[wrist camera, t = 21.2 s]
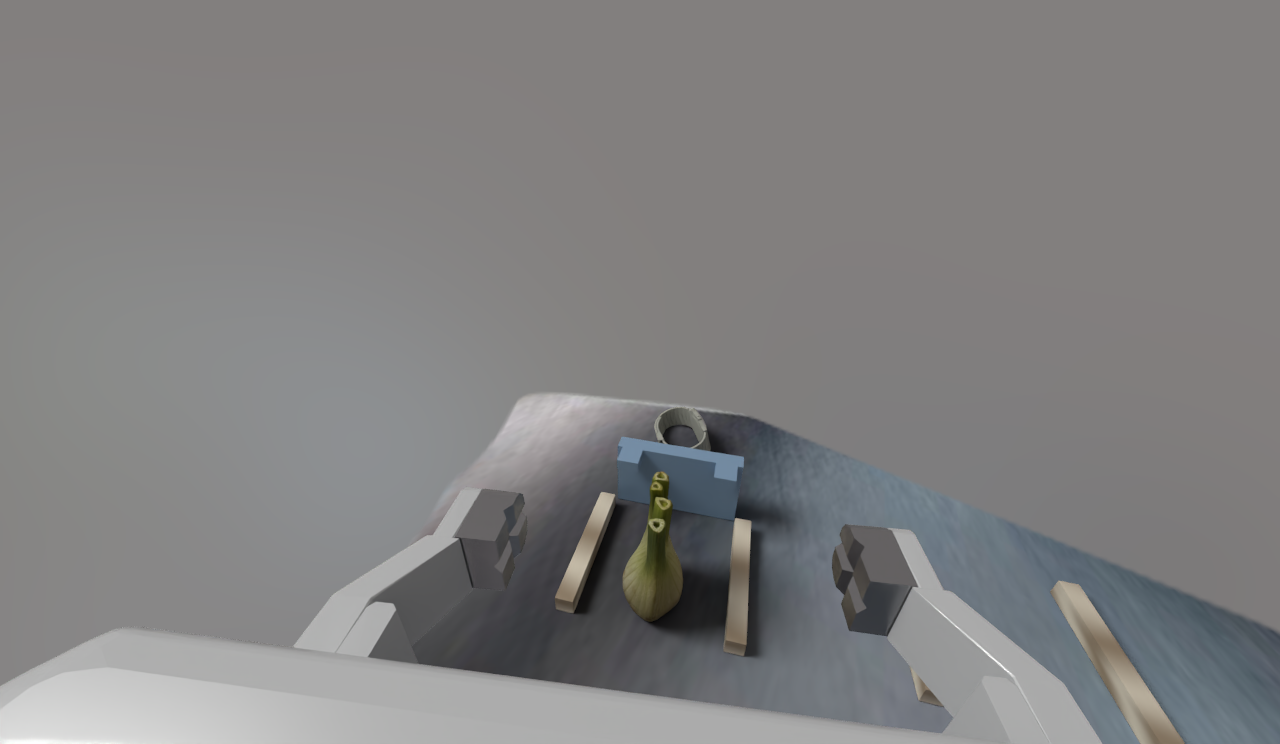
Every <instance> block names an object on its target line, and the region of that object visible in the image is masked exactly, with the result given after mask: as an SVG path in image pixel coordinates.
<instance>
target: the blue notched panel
mask: <svg viewBox="0 0 1280 744" xmlns="http://www.w3.org/2000/svg"><path fill="white" fill-rule="evenodd" d="M743 464H744V457H740V456H734V455H728V454H722V453H716V452H711V451H705V450H699V449H693V448H687V447H681V446H675V445H669V444H663V443H657V442H651V441H645V440H639V439H633V438H627V437H622V438H621V440H620V442H619V445H618V459H617V468H618V498H619V499H624V500H629V501H634V502H639V503H644V504H649V505H650V486H651V484H652V478H653V476H654V474H655V473H657V472H661V471H662V472H665V473H666V474H667V475H668V476H669V492H668V500H671V502H672V504H673V509H675V510H680V511H685V512H690V513H695V514H701V515H706V516H711V517H716V518H721V519H726V520H731V521H734V518H735V512H736V507H737V501H738V495H739V489H740V484H741V478H742V472H743Z"/></svg>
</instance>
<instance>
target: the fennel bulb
mask: <svg viewBox="0 0 1280 744" xmlns="http://www.w3.org/2000/svg"><path fill="white" fill-rule="evenodd" d="M668 492H669V476H668V475H667V474H666V473H665V472H662V471H661V472H657V473H655V474H654V476H653V478H652V484H651V486H650V506H649V516H648V524H647V528H646V531H645V533H644V536H643V538H642V541H641V543H640V545H639V547H638V548H637V550H636V551H635V552H634V554H633V555H632V556H631V558H630V559H629V561H628V563H627V565H626V568H625V570H624V573H623V590H624V593H625V597H626V599H627V601H628V603H629V604H630V606H631V608H632V609H633V611H634V612H635V613H636V614H637V615H638V616H640V617H641V618H642V619H644V620H645V621H648V622H652V621H655V620H657V619H659V618H660V617H662V616H663V615H664V614H666V613H667V612H669V611H670V610H671V609H672V608H673V607H674V606H675V605H677V603H678V602H679V600H680V597H681V593H682V588H683V576H682V569H681V565H680V561H679V559H678V557H677V555H676V553H675V550H674V548H673V545H672V542H671V539H670V536H669V528H670V521H671V515H672V509H673V504H672V502H671V500H668Z"/></svg>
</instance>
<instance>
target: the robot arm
mask: <svg viewBox="0 0 1280 744" xmlns="http://www.w3.org/2000/svg"><path fill="white" fill-rule="evenodd" d="M524 504H525V502H524V497H523V494H521V493H514V492H506V491H498V490H490V489H479V488H471V487H466V488H464V489H463V490H462V491H461V492H460V493H459V495H458V496H457V498H456V500H455V501H454V503H453V504H452V506H451V507H450V509H449V511H448V512H447V514H446V515H445V517H444V519H443V520H442V522H441V523H440V525H439V526H438V528H437V530H436V531H435V533H434V534H433V536H432V535H427V536H425V537H423V538H422V539H420V540H419V541H417V542H415V543H414V544H412V545H411V546H409V547H407V548H406V549H404V550H403V551H401V552H400V553H398V554H396V555H395V556H393V557H392V558H390V559H388V560H387V561H385V562H384V563H382V564H381V565H379V566H377V567H376V568H374V569H373V570H371V571H369V572H368V573H367V574H365V575H363V576H361V577H360V578H358V579H357V580H355V581H353V582H352V583H350V584H349V585H347V586H345V587H344V588H343V589H341V590H339V591H338V592H336V593H334V594H333V595H332V596H331V598H330V599H329V600H328V602H327V603H326V604H325V606H324V607H323V608H322V609H321V611H320V612H319V613H318V615H317V616H316V617H315V619H314V620H313V621H312V623H311V624H310V625H309V627H308V628H307V629H306V630H305V632H304V633H303V634H302V636H301V637H300V638H299V640H298V641H297V642H296V643H295V645H294V646H293V647H287V646H280V645H272V644H265V643H257V642H250V641H242V640H234V639H227V638H220V637H212V636H205V635H197V634H189V633H182V632H175V631H167V630H160V629H152V628H144V627H125V628H118V629H115V630H111V631H110V632H107V633H105V634H102V635H100V636H98V637H96V638H94V639H91V640H89V641H86V642H84V643H83V644H81V645H78V646H77V647H74V648H72V649H70V650H69V651H66V652H64V653H63V654H61V655H59V656H56V657H55V658H53V659H51V660H48V661H47V662H45V663H43V664H41V665H39V666H37V667H35V668H33V669H31V670H29V671H27V672H25V673H23V674H21V675H19V676H18V677H16V678H14V679H12V680H10V681H8V682H6V683H5V684H3V685H1V686H0V744H1102V743H1101V741H1100V739H1099V738H1098V736H1097V735H1096V733H1095V732H1094V730H1093V728H1092V727H1091V725H1090V724H1089V722H1088V721H1087V719H1086V718H1085V716H1084V714H1083V713H1082V711H1081V710H1080V708H1079V707H1078V705H1077V704H1076V702H1075V700H1074V699H1073V697H1072V696H1071V694H1070V693H1069V691H1068V690H1067V688H1066V686H1065V685H1064V684H1063V683H1062V682H1061V681H1060V680H1059V679H1057V678H1056V677H1055V676H1054V675H1053V674H1051V673H1050V672H1049V671H1048V670H1046V669H1045V668H1044V667H1043V666H1042V665H1040V664H1039V663H1038V662H1037V661H1035V660H1034V659H1033V658H1032V657H1031V656H1029V655H1028V654H1027V653H1026V652H1024V651H1023V650H1022V649H1021V648H1020V647H1018V646H1017V645H1016V644H1015V643H1014V642H1012V641H1011V640H1010V639H1009V638H1007V637H1006V636H1005V635H1004V634H1003V633H1001V632H1000V631H999V630H998V629H996V628H995V627H994V626H993V625H992V624H990V623H989V622H988V621H987V620H986V619H984V618H983V617H982V616H981V615H979V614H978V613H977V612H976V611H975V610H973V609H972V608H971V607H970V606H968V605H967V604H966V603H965V602H964V601H962V600H961V599H960V598H959V597H957V596H956V595H955V594H954V593H953V592H951V591H946V590H944V589H943V587H942V585H941V583H940V581H939V579H938V577H937V576H936V574H935V572H934V570H933V568H932V566H931V564H930V562H929V560H928V558H927V557H926V555H925V553H924V551H923V549H922V547H921V545H920V543H919V541H918V540H917V538H916V536H915V534H914V533H913V532H912V531H911V530H904V529H893V528H882V527H871V526H859V525H847V524H845V525H844V526H843V527H842V530H841V533H840V537H841V540H842V543H841V544H840V545H838V546H837V547H835V550H834V554H833V559H832V570H833V577H834V581H835V584H836V587H837V588H838V589H839V590H840V591H841V592H842V593H843V594H844V598H843V600H842V603H841V605H842V608H843V612H844V615H845V618H846V622H847V625H848V628H849V631H854V632H861V633H868V634H875V635H881V636H888V637H887V639H888V640H889V641H890V643H891V644H892V645H893V646H894V647H895V649H896V650H897V651H898V652H899V653H900V655H901V656H902V657H903V658H904V659H905V660H906V662H907V663H908V664H909V665H910V666H911V668H912V669H913V670H914V671H915V672H916V674H917V675H918V676H919V677H920V678H921V680H922V681H923V682H924V683H925V684H926V686H927V687H928V688H929V689H930V690H931V692H932V693H933V694H934V695H935V696H936V698H937V699H938V700H939V701H940V702H941V703H942V705H943V706H944V707H945V708H946V709H947V711H948V712H949V713H950V714H951V715H952V717H953V719H952V721H951V722H950V723H949V725H948V726H947V727H946V729H945V730H944V732H943V733H942V734H940V733H932V732H925V731H917V730H910V729H902V728H895V727H887V726H880V725H872V724H865V723H857V722H849V721H842V720H834V719H827V718H819V717H812V716H804V715H797V714H789V713H782V712H774V711H767V710H759V709H752V708H744V707H737V706H729V705H722V704H714V703H707V702H700V701H692V700H685V699H677V698H670V697H662V696H655V695H648V694H640V693H633V692H625V691H617V690H610V689H602V688H595V687H587V686H580V685H572V684H565V683H557V682H550V681H542V680H535V679H527V678H520V677H512V676H505V675H497V674H490V673H482V672H475V671H467V670H460V669H452V668H445V667H437V666H430V665H422V664H418V661H417V659H416V656H415V654H414V652H413V649H412V647H411V646H412V645H413V644H414V643H416V642H417V641H418V640H419V639H420V638H421V637H422V636H423V635H424V634H425V633H426V632H428V631H429V630H430V629H431V628H432V627H433V626H434V625H435V624H436V623H437V622H438V621H439V620H441V619H442V618H443V617H444V616H445V615H446V614H447V613H448V612H449V611H450V610H451V609H453V608H454V607H455V606H456V605H457V604H458V603H459V602H460V601H461V600H462V599H463V598H465V597H466V596H467V595H468V594H469V593H470V592H471V591H472V590H473V589H472V588H479V589H490V590H502V591H506V589H507V586H508V584H509V581H510V579H511V576H512V574H513V571H514V569H515V564H514V558H515V557H516V556H517V555H519V554H520V553H521V552H522V549H523V546H524V544H525V540H526V535H527V516H526V515H525V514H524V513H523V512H522V509H523V507H524Z"/></svg>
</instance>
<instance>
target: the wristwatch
mask: <svg viewBox="0 0 1280 744" xmlns="http://www.w3.org/2000/svg"><path fill="white" fill-rule="evenodd" d="M681 424H682V425H687V426H689V427H691V428H693V430H694V432H695V434H696V437H697V439H698V441H699V442H700V443H699V444H697V445H696V446H694V447H692V448H693V449H699V450H705V451H710V450H711V447H710V442H709V437H708V433H707V428H706V424H705V422H704V420H703V418H702V417H701V416H700V414H699V413H698V412H697V410H695V409H694V408H692V409H689V408H686V407H674V408H671V409H668V410H666V411H664V412H663V413H662V414H660V415H659V417H658V418H657V419H656V421H655V425H654V426H655V432H656V436H657V439H658V443H663V444H667V443H666V442H665V441H664V439H663V437H662V436H663V433H664V432H665V429H667V428H669V427H671V426H673V425H681Z"/></svg>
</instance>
